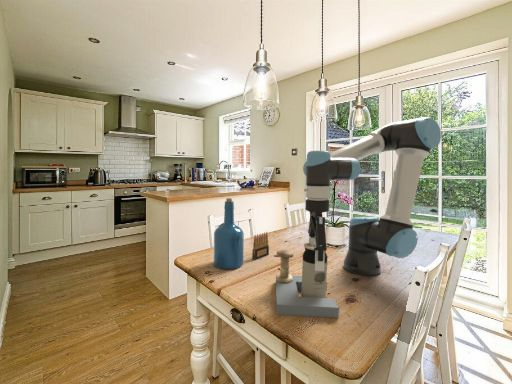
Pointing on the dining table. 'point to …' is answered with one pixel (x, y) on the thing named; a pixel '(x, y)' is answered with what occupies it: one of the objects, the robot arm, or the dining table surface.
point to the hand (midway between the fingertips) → (315, 262)
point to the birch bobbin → (284, 266)
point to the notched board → (302, 301)
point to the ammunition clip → (260, 246)
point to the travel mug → (313, 274)
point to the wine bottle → (228, 241)
